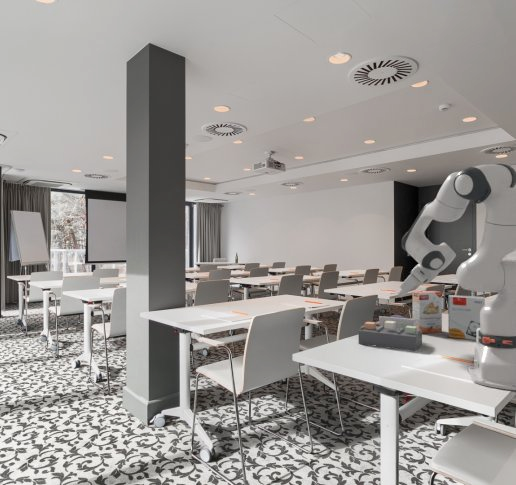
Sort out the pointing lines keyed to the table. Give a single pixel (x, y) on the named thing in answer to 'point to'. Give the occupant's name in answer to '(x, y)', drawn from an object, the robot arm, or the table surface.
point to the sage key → (411, 329)
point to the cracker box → (427, 311)
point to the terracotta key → (370, 325)
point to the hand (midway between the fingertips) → (399, 296)
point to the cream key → (390, 324)
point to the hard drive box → (464, 316)
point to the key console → (392, 335)
